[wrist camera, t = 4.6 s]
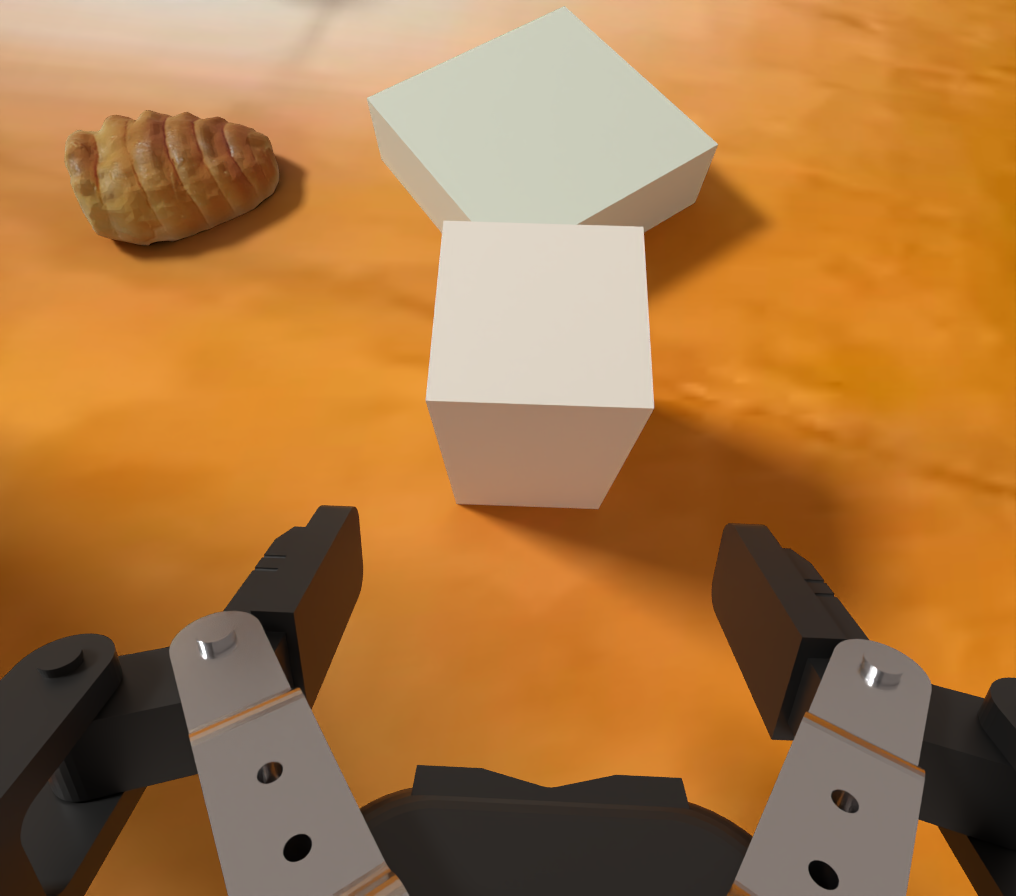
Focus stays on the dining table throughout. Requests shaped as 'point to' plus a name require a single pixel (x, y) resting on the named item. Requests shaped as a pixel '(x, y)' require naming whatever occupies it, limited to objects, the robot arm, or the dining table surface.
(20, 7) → the dining table surface
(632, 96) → the block
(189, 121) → the pastry
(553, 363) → the tall block
